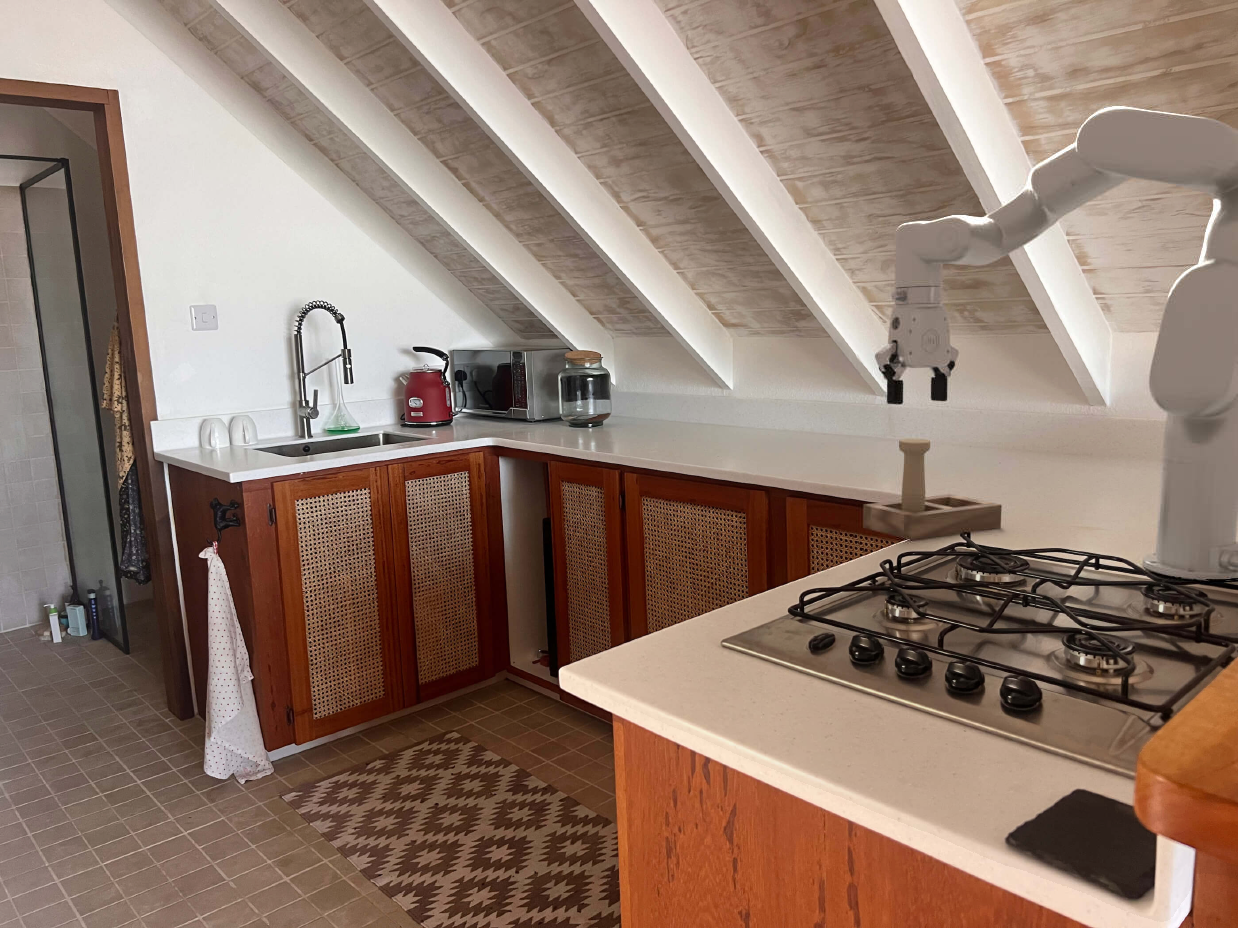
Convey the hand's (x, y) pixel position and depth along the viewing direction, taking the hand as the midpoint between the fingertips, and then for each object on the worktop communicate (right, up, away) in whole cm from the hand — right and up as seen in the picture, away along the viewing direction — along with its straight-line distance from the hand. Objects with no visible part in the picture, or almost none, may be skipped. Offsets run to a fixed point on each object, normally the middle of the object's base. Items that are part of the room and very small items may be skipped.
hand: (917, 402), depth 161 cm
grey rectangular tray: (+4, -21, +5) cm, 22 cm away
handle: (0, -22, +3) cm, 22 cm away
